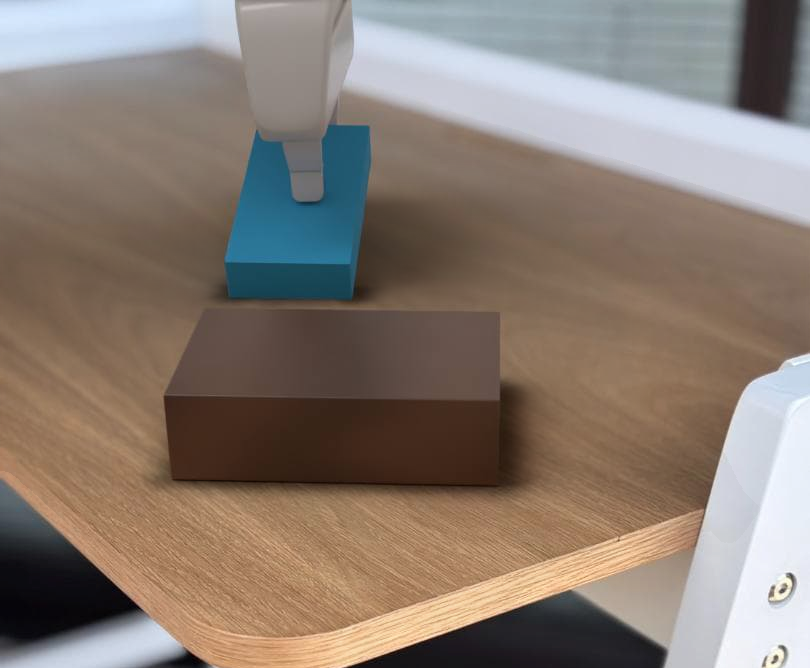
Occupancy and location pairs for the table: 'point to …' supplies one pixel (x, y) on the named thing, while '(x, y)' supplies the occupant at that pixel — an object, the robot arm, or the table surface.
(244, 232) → the blue rectangular block
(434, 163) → the table surface
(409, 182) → the table surface
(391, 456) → the walnut block
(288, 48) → the robot arm
